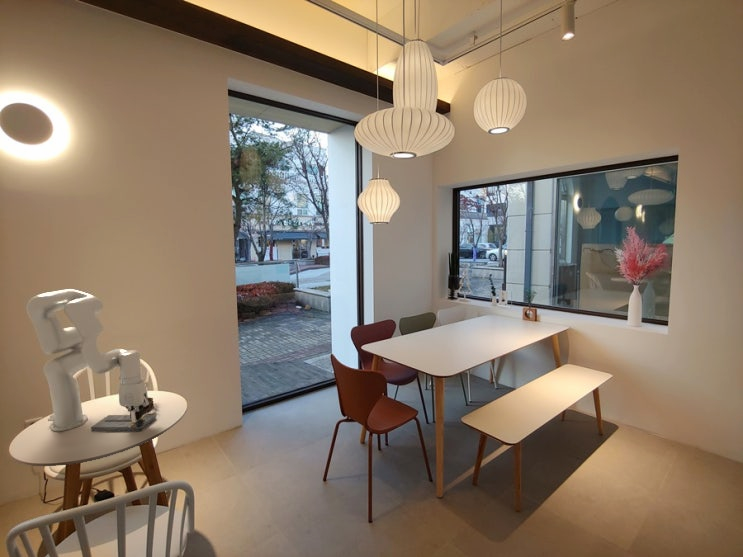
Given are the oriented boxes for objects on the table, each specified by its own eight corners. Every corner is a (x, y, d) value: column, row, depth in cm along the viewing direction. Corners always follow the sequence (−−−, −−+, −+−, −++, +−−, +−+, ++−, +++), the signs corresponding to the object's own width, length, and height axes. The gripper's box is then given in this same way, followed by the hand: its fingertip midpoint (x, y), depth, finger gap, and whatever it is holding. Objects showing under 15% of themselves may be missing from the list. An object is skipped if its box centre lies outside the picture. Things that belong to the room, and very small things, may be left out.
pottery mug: (125, 417, 164) (128, 399, 167) (144, 417, 172) (147, 399, 176) (143, 415, 160) (146, 396, 163) (162, 414, 168) (164, 396, 171)
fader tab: (131, 422, 154) (130, 411, 154) (138, 417, 158) (136, 406, 158) (135, 422, 154) (134, 411, 154) (141, 417, 158) (140, 406, 158)
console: (91, 431, 152) (90, 426, 152) (109, 419, 162) (108, 414, 162) (141, 431, 152) (140, 426, 151) (156, 418, 161) (155, 414, 161)
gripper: (107, 382, 150) (112, 423, 153) (143, 382, 150) (148, 423, 152) (120, 375, 158) (125, 414, 160) (155, 375, 157) (159, 414, 160)
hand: (136, 418), depth 156 cm, fingers closed on fader tab
